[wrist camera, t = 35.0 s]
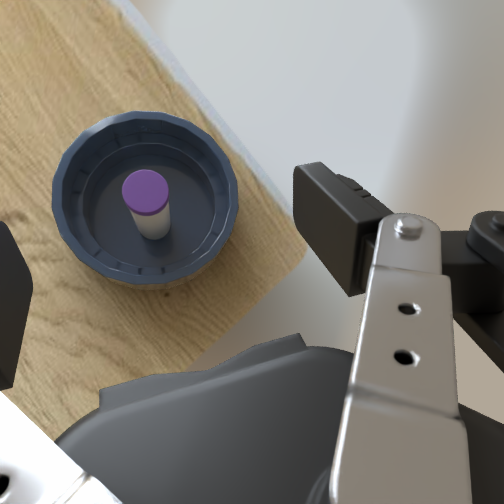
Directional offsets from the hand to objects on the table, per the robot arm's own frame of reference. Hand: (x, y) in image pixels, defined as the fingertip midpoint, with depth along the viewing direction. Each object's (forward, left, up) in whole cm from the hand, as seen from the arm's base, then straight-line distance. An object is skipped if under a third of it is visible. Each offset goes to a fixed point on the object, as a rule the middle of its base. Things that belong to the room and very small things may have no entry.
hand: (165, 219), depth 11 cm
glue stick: (+4, -6, -28) cm, 29 cm away
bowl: (+5, -7, -28) cm, 30 cm away
